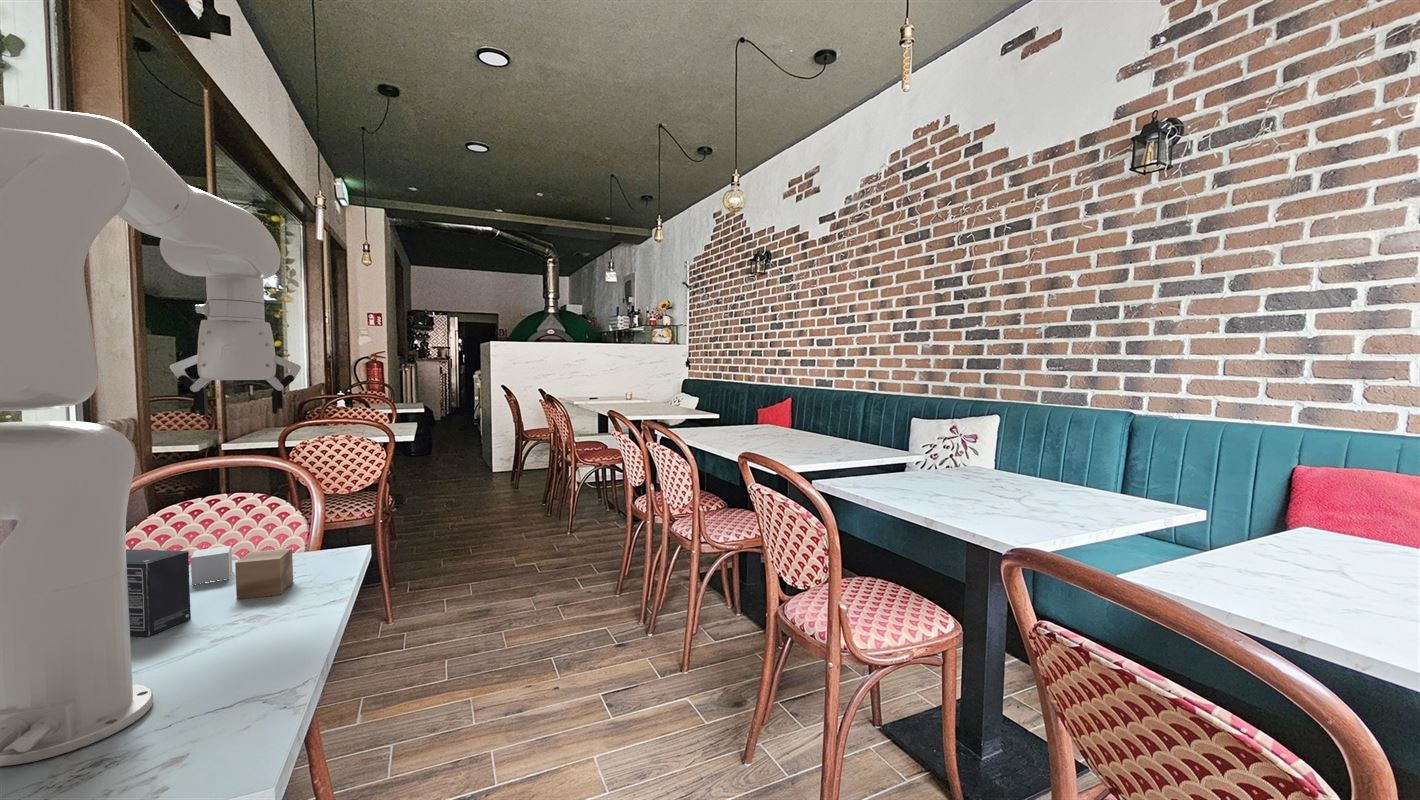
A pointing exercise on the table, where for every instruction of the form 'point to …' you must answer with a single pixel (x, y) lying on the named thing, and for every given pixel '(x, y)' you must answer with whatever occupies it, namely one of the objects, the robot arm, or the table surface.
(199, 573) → the grey block
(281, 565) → the walnut cube
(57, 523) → the robot arm
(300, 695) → the table surface
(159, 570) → the small box
